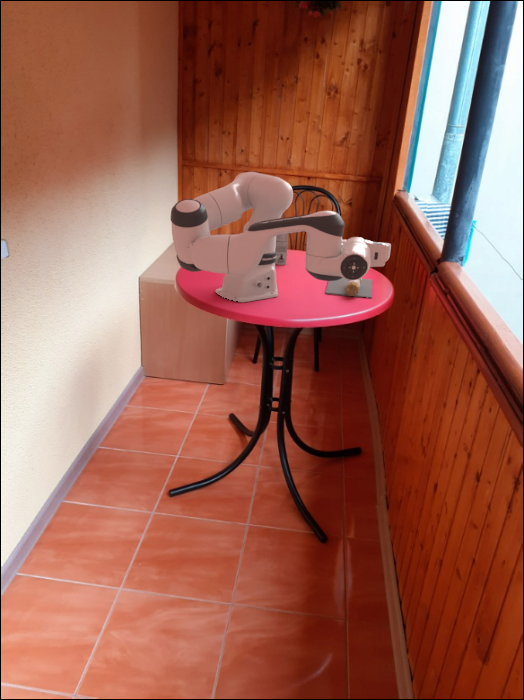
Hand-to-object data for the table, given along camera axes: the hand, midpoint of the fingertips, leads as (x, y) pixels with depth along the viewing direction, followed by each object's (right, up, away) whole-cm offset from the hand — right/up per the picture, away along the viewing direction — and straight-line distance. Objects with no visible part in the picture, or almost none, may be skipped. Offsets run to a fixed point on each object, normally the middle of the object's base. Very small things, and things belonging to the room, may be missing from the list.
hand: (357, 242), depth 176 cm
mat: (+2, -11, +30) cm, 32 cm away
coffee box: (-23, +3, +58) cm, 62 cm away
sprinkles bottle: (+1, -13, +17) cm, 22 cm away
